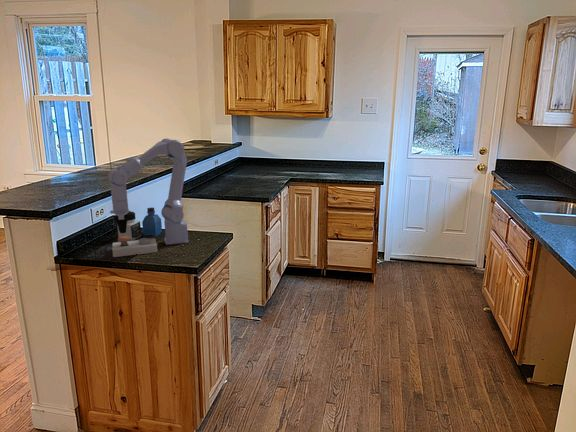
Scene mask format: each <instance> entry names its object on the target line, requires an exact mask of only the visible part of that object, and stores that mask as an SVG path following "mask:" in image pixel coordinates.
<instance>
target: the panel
mask: <svg viewBox="0 0 576 432" xmlns="http://www.w3.org/2000/svg"><path fill="white" fill-rule="evenodd" d="M150 241H151V242H150V243H148V244H139V239H137V240H136V239H134V240H129V241H127V245H128V246H122V247H121V242H118V241H117V242H116V241H115V242H112V248H111V249H112V257H113V258H118V257H126V256H136V254H137V255H145V254H155V253H158V244H157V239H156V238H155V237H154V238H150Z"/></svg>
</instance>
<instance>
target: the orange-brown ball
mask: <svg viewBox="0 0 576 432" xmlns="http://www.w3.org/2000/svg"><path fill="white" fill-rule="evenodd" d="M127 241H131V240H130V237H129V236H120V237H119V236H118V237H117V242H121V247H122V246H128V245H127Z"/></svg>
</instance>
